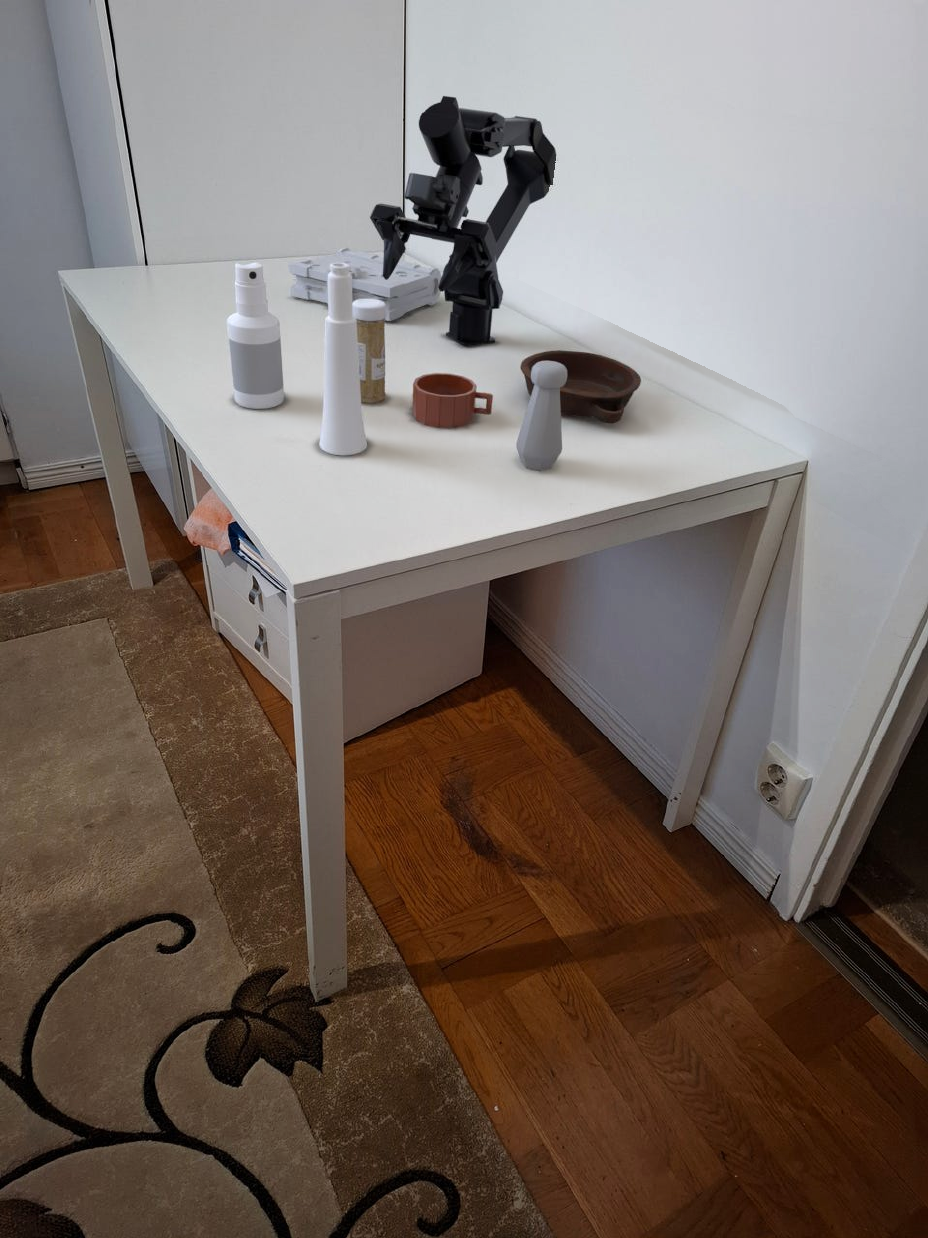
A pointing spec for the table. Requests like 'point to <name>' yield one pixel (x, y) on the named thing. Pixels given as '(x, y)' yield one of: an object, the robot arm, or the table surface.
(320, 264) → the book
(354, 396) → the cosmetic bottle
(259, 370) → the spray bottle
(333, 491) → the table surface
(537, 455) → the salt shaker
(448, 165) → the robot arm
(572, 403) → the dish
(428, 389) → the cup
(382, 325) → the sprinkles bottle
